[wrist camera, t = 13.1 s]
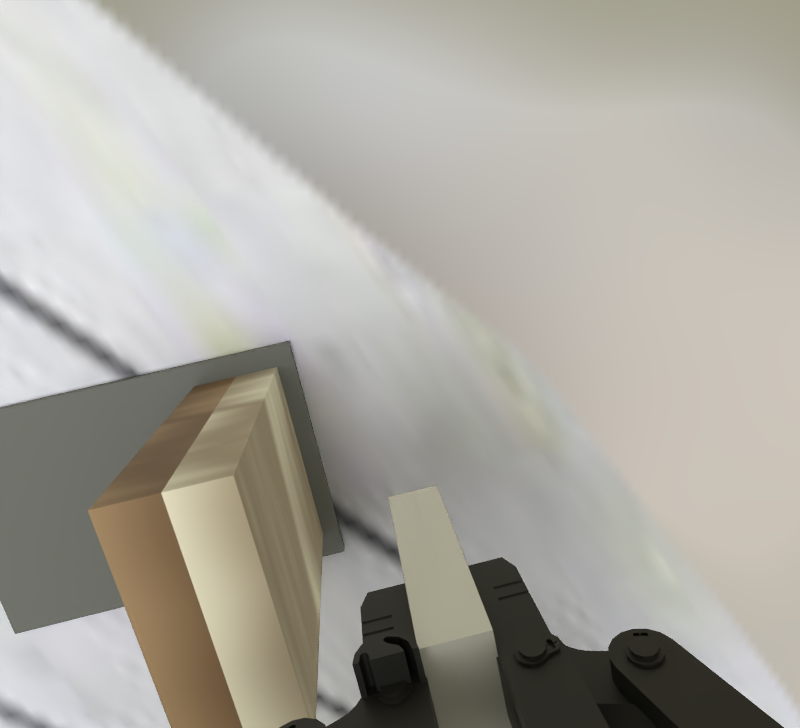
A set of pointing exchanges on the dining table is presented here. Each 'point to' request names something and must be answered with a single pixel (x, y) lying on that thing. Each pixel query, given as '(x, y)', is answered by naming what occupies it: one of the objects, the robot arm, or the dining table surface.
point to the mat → (105, 479)
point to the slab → (221, 558)
